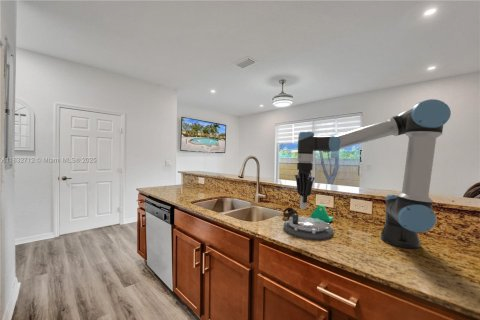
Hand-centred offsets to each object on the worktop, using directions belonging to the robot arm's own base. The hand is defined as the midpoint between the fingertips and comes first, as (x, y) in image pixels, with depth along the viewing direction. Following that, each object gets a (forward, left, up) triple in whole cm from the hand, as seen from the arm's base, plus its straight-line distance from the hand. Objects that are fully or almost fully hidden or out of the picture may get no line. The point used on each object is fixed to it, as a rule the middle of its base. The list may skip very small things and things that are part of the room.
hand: (303, 208), depth 104 cm
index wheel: (+7, -8, -12) cm, 16 cm away
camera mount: (+21, -30, -15) cm, 39 cm away
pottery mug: (+30, -13, -15) cm, 36 cm away
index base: (+7, -8, -14) cm, 18 cm away
